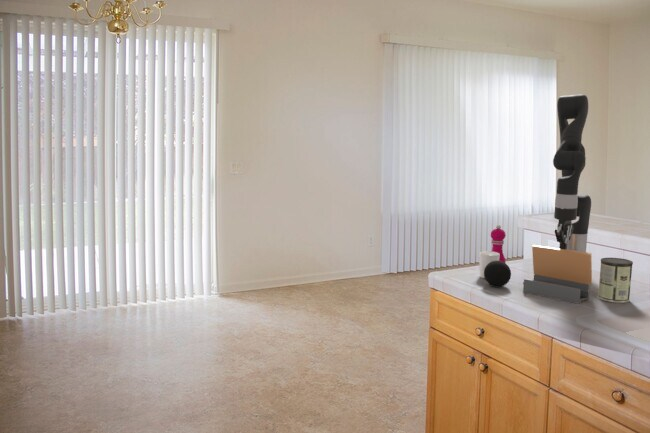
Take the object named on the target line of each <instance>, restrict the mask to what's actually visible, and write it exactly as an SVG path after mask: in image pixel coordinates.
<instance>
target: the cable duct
mask: <svg viewBox="0 0 650 433" xmlns="http://www.w3.org/2000/svg"><path fill="white" fill-rule="evenodd" d="M523 282H524V285H523V289H522V293H525V294H530V295H534V296H539V297H545V298H550V299H555V300H559V301H564V302H568V303H569V302H570V303H575V304H580V303H583V301H585V300H587V299H589V296H590V295H589V293H590V284H585V283H580V282H574V281H569V280H563V279H557V278H552V277H546V276H541V275H535V274H533V279H529V278H524V279H523ZM580 291H586V292H588V297H587V298H582V297H580Z"/></svg>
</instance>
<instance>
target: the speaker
mask: <svg viewBox="0 0 650 433" xmlns="http://www.w3.org/2000/svg"><path fill="white" fill-rule="evenodd" d="M511 272H512V271H511V268H510V266H509V265H508V264H507V263H506V262H505V263H504V262H502V261H492V262H490V263H489V264H487V266H486V267H485V269H484V277H485V278H484V280H485V281H486V282H487V284H488V285H490V286H491V287H495V288H496V287H497V288H500V287H503V286H506V285H507V284H508V283H509V282H510V280H511V276H512V273H511Z"/></svg>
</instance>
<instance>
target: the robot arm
mask: <svg viewBox="0 0 650 433" xmlns="http://www.w3.org/2000/svg"><path fill="white" fill-rule="evenodd" d="M587 96H588V95H586V94H570V95H561V96H559V97H558V100H557V104H556V106H557V117H558V118H557V119H558V128H559V136H560V137H559V141H560V142H559V143H560V144H559V147H558V149H557V151H556V152H555V154H554V156H553V160H552V164H553V166H554V168H555V170H558V171H561V177H559V178H558V179H557V181H556V196H555V200H554V213H553V214H554V215H553V217H554V220H555V219H556V220H558V223H557V226H556V227H557V228H556V229H555V230H554V234H555V238H556V242H557V243H559V247H558V248H559V249H566V250H573V251H580V252H587V244H588V232H589V226H590V218H591V217H590V216H591V210H592V209H591V208H592V199H591V196H589V195H588V194H578V192H579V182H580V177H581V174H582V172H583V171H584V169H585V167H586V158H587V157H586V149H585V146H584V145H583V143H582V139H583V138H582V137H583V136H582V135H583V132H584V129H585V126H586V121H587V117H588V114H589V99H588V97H587ZM568 120H572V121H571V122H570V123H569V121H568ZM577 217H578V220H577ZM575 220H577V221H575ZM572 221H575V222H572Z"/></svg>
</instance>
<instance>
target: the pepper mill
mask: <svg viewBox="0 0 650 433" xmlns="http://www.w3.org/2000/svg"><path fill="white" fill-rule="evenodd" d="M506 236H507V235H506V231H505V230H503V229H502V226H501V225H499V224H497V225H496V228H495V229H492V231H490V237H491V244H492V249H491V251H492V252H497V253H499V254H500V256H499V261H502V262H504V263H506V257H505V255H504V253H503V245H504V244H505V243H504V242H505V241H504V240H505V238H506Z"/></svg>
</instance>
